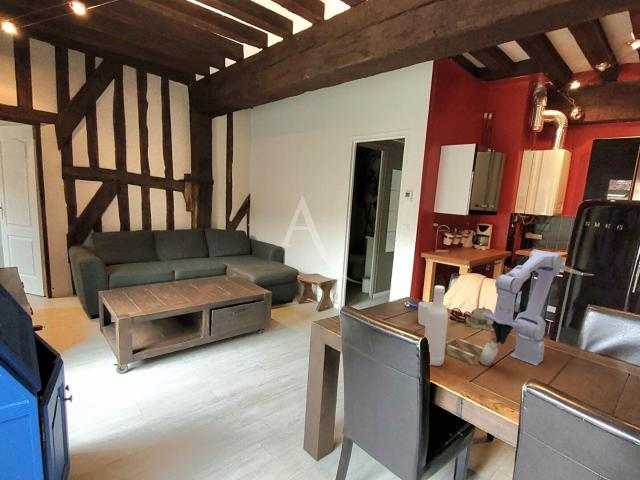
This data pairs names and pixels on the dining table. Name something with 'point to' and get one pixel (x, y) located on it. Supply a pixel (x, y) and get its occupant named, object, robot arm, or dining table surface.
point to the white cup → (422, 312)
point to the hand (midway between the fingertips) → (500, 342)
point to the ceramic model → (480, 319)
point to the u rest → (460, 353)
